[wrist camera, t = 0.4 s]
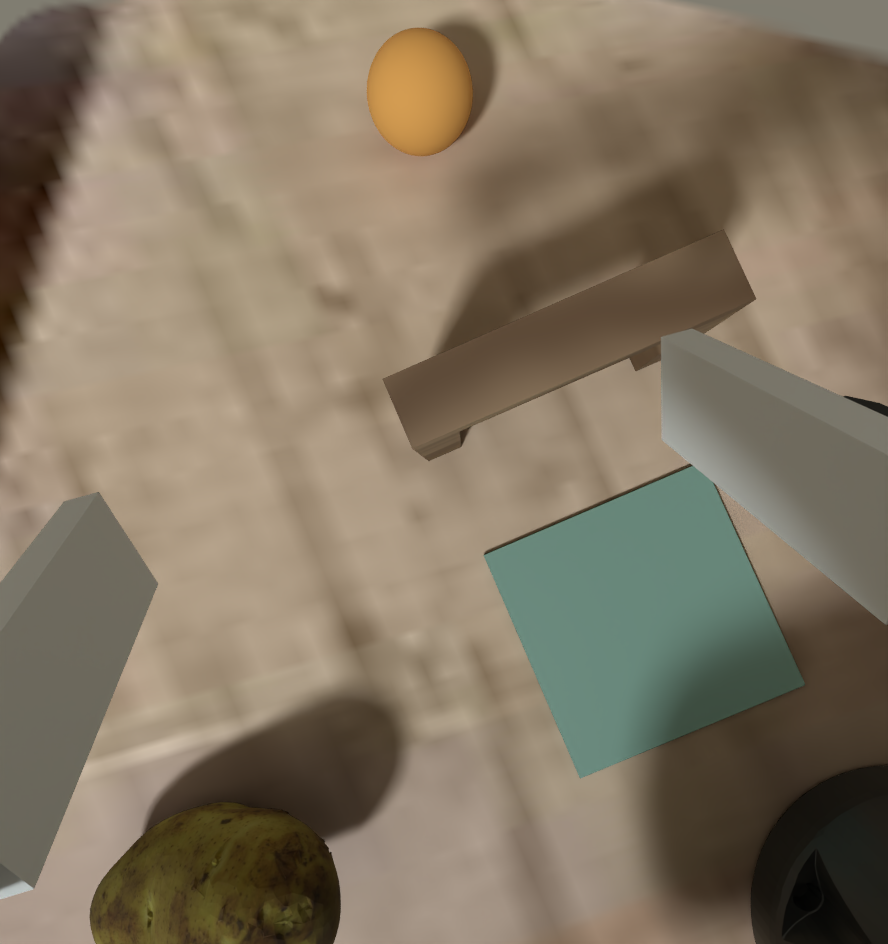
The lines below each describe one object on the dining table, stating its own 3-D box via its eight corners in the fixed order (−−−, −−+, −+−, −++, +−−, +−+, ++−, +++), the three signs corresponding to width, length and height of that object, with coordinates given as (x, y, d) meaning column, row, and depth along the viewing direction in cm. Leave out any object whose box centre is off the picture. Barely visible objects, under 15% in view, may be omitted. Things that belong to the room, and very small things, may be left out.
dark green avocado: (142, 752, 31) (30, 844, 23) (368, 785, 30) (333, 889, 22) (123, 903, 31) (2, 1047, 23) (350, 938, 30) (308, 1099, 22)
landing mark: (803, 683, 30) (805, 684, 29) (579, 776, 30) (580, 778, 30) (701, 461, 30) (703, 461, 30) (483, 554, 31) (483, 555, 30)
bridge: (669, 356, 30) (756, 298, 21) (428, 461, 31) (412, 448, 22) (646, 307, 31) (723, 229, 21) (407, 412, 31) (382, 378, 22)
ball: (487, 152, 31) (492, 81, 26) (398, 192, 31) (384, 129, 26) (449, 67, 32) (445, -22, 26) (361, 107, 32) (339, 26, 26)
